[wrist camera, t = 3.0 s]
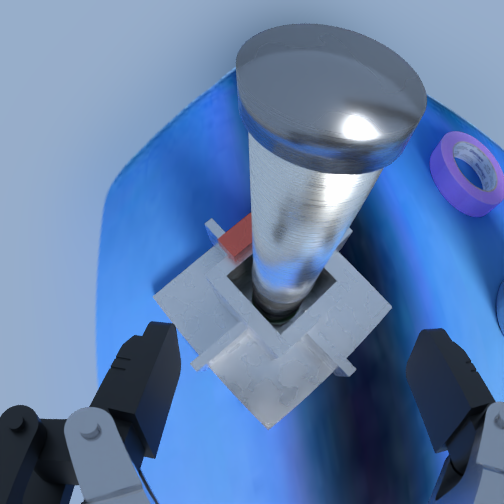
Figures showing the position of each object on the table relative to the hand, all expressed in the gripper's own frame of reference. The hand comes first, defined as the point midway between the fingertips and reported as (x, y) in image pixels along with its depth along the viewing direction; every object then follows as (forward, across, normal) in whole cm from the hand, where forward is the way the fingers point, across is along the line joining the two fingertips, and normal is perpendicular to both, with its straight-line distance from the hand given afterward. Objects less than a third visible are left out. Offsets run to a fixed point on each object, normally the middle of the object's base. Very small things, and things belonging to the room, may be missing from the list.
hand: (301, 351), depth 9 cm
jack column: (+15, 0, +8) cm, 18 cm away
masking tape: (+30, -26, -2) cm, 40 cm away
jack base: (+17, 0, +10) cm, 20 cm away
